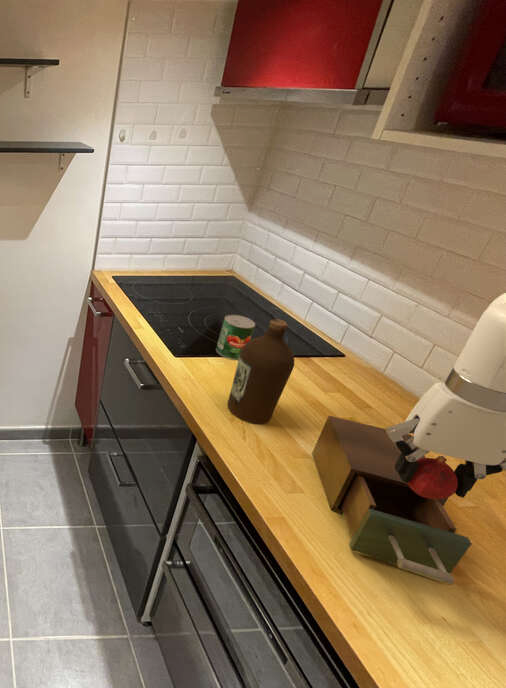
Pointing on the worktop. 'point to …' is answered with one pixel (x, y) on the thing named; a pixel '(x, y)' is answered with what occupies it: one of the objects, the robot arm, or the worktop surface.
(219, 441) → the worktop surface
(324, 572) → the worktop surface
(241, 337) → the canned tomato
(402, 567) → the drawer
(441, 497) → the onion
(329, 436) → the cabinet
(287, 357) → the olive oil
